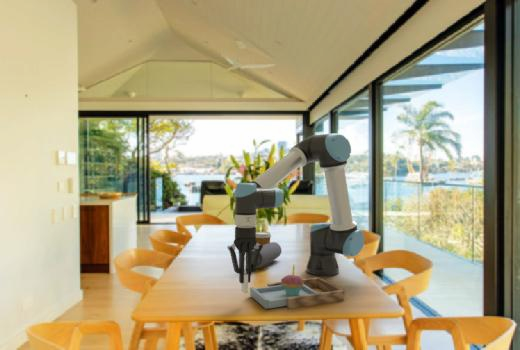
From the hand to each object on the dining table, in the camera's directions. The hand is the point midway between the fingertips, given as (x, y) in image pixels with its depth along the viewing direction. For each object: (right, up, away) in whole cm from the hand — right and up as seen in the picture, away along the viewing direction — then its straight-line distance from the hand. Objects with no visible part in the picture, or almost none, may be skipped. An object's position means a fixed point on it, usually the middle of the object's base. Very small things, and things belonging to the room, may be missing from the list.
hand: (244, 291), depth 139 cm
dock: (+23, -5, +10) cm, 25 cm away
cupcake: (+18, -3, +7) cm, 19 cm away
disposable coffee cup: (+7, -3, +80) cm, 80 cm away
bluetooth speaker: (+8, -4, +57) cm, 57 cm away
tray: (+15, -4, +6) cm, 16 cm away
